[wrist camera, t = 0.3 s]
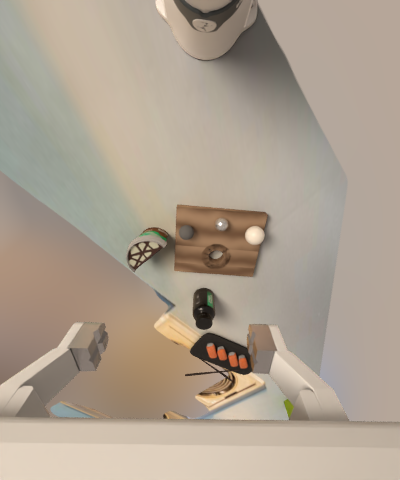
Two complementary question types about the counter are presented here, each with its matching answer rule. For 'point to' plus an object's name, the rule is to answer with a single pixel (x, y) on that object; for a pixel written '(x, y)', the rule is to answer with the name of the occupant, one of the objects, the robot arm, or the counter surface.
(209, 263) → the board
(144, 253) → the food container
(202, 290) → the supplement bottle
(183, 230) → the gray rubber ball
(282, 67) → the counter surface
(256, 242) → the cream plastic ball
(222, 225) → the steel ball
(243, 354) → the sushi plate
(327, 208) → the counter surface
